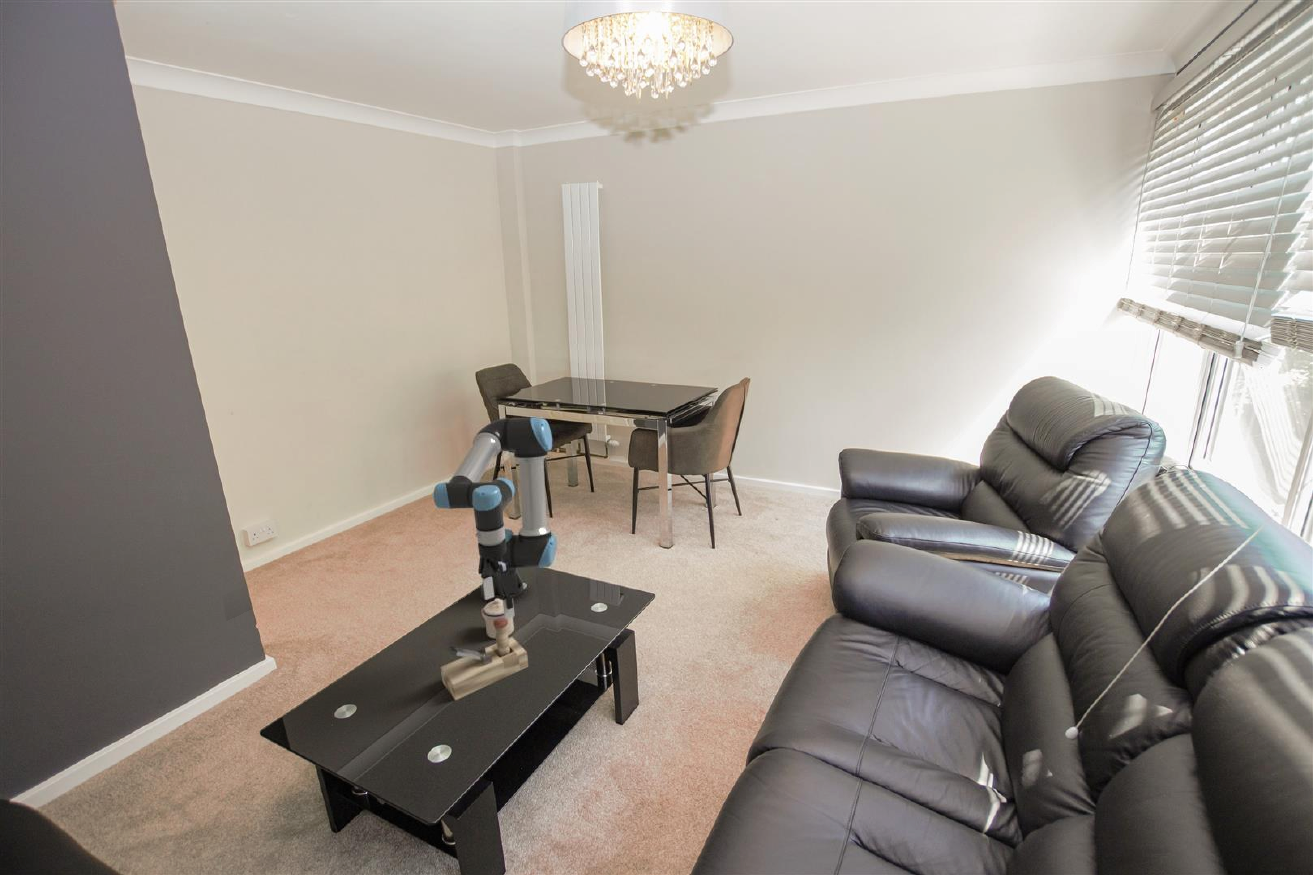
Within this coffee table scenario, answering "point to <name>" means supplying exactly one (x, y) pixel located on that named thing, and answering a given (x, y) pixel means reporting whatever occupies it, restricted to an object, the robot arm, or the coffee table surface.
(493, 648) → the block
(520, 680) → the coffee table surface
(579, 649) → the coffee table surface
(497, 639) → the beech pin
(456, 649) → the lever
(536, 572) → the coffee table surface
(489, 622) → the teacup with lid
